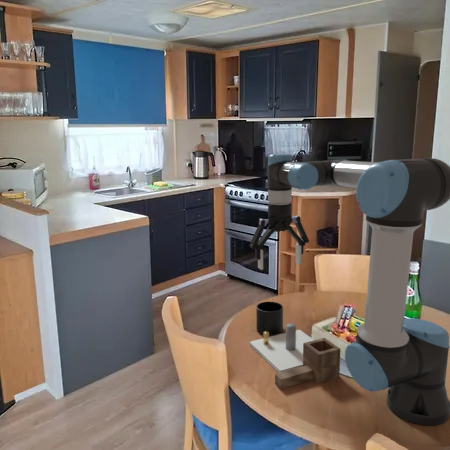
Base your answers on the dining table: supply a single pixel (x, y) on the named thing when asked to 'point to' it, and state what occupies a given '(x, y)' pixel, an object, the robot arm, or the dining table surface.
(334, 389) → the dining table surface
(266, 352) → the post board
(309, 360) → the brown wooden bracket
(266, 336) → the dowel pin
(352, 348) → the robot arm
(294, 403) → the dining table surface
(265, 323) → the mug
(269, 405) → the dining table surface
